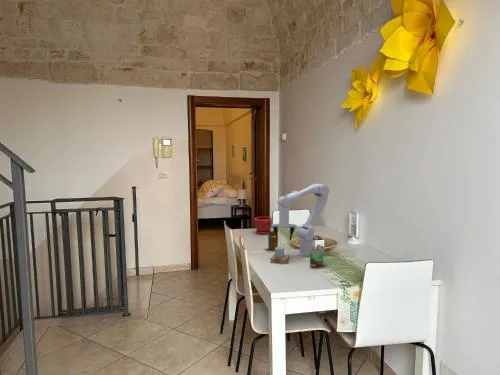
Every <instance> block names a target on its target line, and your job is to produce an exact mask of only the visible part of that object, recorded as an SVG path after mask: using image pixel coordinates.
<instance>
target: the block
mask: <svg viewBox="0 0 500 375" xmlns="http://www.w3.org/2000/svg"><path fill="white" fill-rule="evenodd" d="M274 254H275V258H283V257H284V255H285V247H283V246H278V247H276V248H275V251H274Z"/></svg>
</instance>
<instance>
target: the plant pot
mask: <svg viewBox="0 0 500 375" xmlns="http://www.w3.org/2000/svg"><path fill="white" fill-rule="evenodd" d="M271 224H273V219H272V217H271V216H257V217H254V227H255V229H256V230H255V233H256V234H258V235H263V236H264V235H269V231H272V228H271Z"/></svg>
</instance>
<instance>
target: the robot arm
mask: <svg viewBox="0 0 500 375" xmlns="http://www.w3.org/2000/svg"><path fill="white" fill-rule="evenodd" d="M329 193H330V189H329V186H328V185H327V184H326V183H325V184H324V183H313V184H311V185H309V186H307V187H305V188H304V189H301V190H300V191H297V190H292V191H291V193H288V194H284V195H282V196H280V197H279V198H278V200H277V205H278V208H279V209H278V212H279V213H278V223H272V224H271V229H272V231H274V232H275V235H276V240H278V241H279V236H278V234H279V233H278V232H279V230H278V229H279V228H281V229H289V230H290V231H289V241H292V238H293V233H294V232H295V230H296V229H297V224H293V223H290V206H291V205H292V204H294V203H295V202H298V201H300V200H301V198H302V197H304V196H307V195H310V194H314V196H315V197H316V202H315V204H314V206H313V208H312V209H311V212H310V214H309V215H308V218H307V219H306V221H305V222H304V223H303V224H302V225H301V227H300V228H298V229H297V233H296V234H297V236H298V238H299V239H298V240H299V242H298V243H299V251H298V254H297V256H299V257H300V256H303V257H310V253H309V249H311V250H312V249H313V248H315V247H316V240H314V237H315V232H316V229H315V226H316V224H317V222H318V220H319V217H320V215H321V214H322V212H323V210H324V208H325V206H326V204H327V202H328V195H329Z"/></svg>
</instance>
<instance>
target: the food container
mask: <svg viewBox="0 0 500 375" xmlns="http://www.w3.org/2000/svg"><path fill="white" fill-rule="evenodd" d="M325 249H326V248H325V246H324V245H321V244H316V246H315V248H313V249H312V250H311V249H309V253H310V256H309V267H310V268H321V267H323V263H324V254H325V252H326V250H325Z"/></svg>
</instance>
